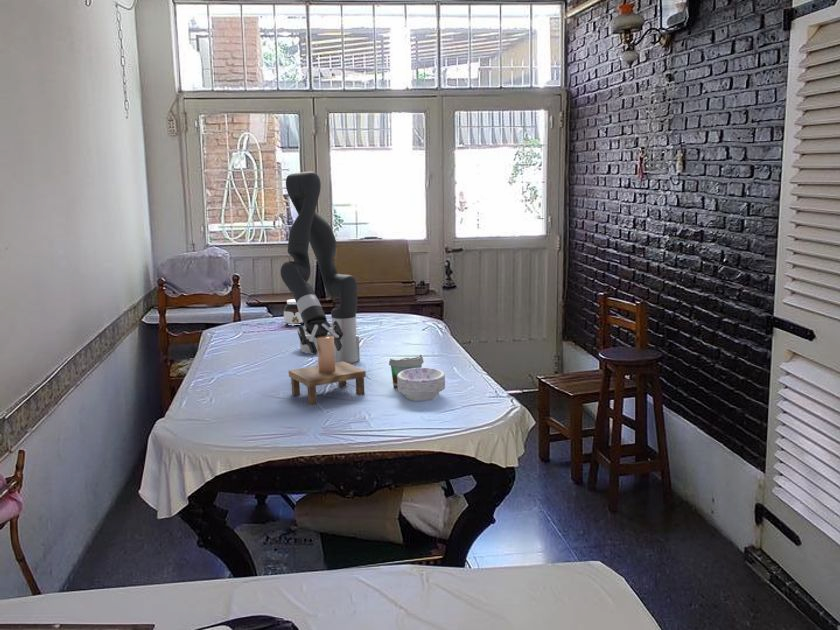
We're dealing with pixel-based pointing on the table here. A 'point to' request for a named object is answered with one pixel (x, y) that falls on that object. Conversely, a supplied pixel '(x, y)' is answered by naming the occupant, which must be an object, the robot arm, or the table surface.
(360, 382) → the footstool
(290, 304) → the spread jar
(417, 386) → the paper bowls
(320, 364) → the peach rounded cylinder
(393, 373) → the food container
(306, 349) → the lumpy-topped squat cylinder
